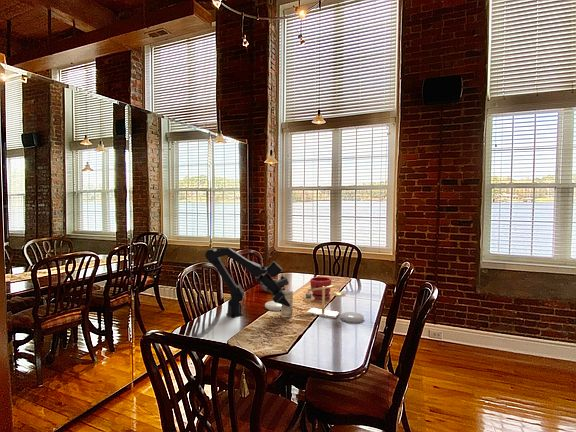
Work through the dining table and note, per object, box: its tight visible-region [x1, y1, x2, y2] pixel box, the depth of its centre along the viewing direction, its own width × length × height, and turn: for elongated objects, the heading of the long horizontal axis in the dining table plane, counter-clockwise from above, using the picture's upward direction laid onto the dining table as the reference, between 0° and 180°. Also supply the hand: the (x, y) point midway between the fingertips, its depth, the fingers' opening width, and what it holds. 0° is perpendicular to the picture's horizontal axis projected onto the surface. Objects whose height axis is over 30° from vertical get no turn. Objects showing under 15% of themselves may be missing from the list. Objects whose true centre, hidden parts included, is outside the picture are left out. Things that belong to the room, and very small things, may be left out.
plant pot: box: [309, 276, 332, 300], centre depth 222 cm, size 13×13×12 cm
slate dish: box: [340, 311, 364, 324], centre depth 185 cm, size 12×12×2 cm
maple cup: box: [280, 289, 294, 318], centre depth 188 cm, size 7×7×13 cm
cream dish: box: [264, 300, 282, 312], centre depth 202 cm, size 14×14×2 cm
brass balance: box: [301, 284, 347, 319], centre depth 191 cm, size 24×7×17 cm, turn 66°
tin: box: [260, 278, 279, 293], centre depth 234 cm, size 15×3×8 cm, turn 62°
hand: (289, 303), depth 188 cm, fingers open, 9 cm apart
